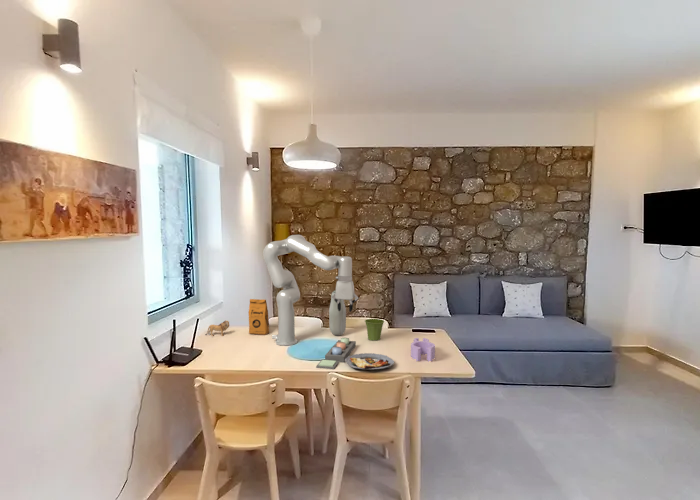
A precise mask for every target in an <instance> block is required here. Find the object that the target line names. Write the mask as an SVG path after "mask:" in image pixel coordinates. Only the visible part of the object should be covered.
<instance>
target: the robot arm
mask: <svg viewBox="0 0 700 500" xmlns="http://www.w3.org/2000/svg"><path fill="white" fill-rule="evenodd" d="M262 251H263V252H262V258H263V262H264V264H265V266H266V269H267V272H268V274H269V277H270V279H271V282H272V285H273V286H274V287H275V288H277V289H281V288H282V290H279V292H277V294H276V298H275V299H276V300H275V301H276V306H277V333H278V334H272V335H271V338H272V339H275V344H276V345H278V346H293V345H295V344H297V343H298V339H297V338H295V335H296V334H295V330H296V329H295V307H294V303H296V302H298V301H299V300H300V297H301V291H300V289H299V286H298V283H297V281H296V278H295V275H294V274H293V273H292V272H291V270H287V269H284V267H283V264H282V262H281V261H280V260H279V257H278V256H283V255H286V254H289V253H292V252H294V253H296V254H299V255H300V256H302V257H305V258H306V259H307V260H308V261H310V262H311V263H312V264H313V265H315V266H316V267H318V268H320V269H322V270H325V271H332V270H335V269H338V271H337V272H338V273H337V276H335V280H336V284H335V290H336V293H335V294H334V295H333V296H332V298H333V299H334V300H335V302H336V303H337V304H338V311H340V310H341V303H340V301H341V300H344V301H345V300H346V301H349V305H348V306H349V307H348V309H349V312H350V313H351V312H352V311H353V309H354V308H353V307H354V306H353V305H354V303H355V302H357V300H359V297H358V295H357V294H356V293H355V287H354V281H353V258H352V257H351V256H345V255H344V256H340V255H329V256H328V255H325V254H323V253H322V252H320V251H319V250H318V249H317V248H316V245H314V244H313V243H312V242H309V241H307V240H306V238H305V237H304V236H303V235H302V234H292V235H289V236H288V237H287V238H285V239H282V240H275V241H271V242H269V243H268V244H266V245H265V246H264V248H263V250H262ZM335 297H336V298H335Z"/></svg>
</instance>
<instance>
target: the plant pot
mask: <svg viewBox="0 0 700 500" xmlns="http://www.w3.org/2000/svg"><path fill="white" fill-rule="evenodd" d="M364 322H365V326H366V331H367V332H366V333H367V339H368V340H369V341H380V340H381V337H382V336H381V335H382V331H383V326H384V323H385V320H383V319H379V318H367V319H365V320H364Z"/></svg>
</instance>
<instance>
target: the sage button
mask: <svg viewBox="0 0 700 500" xmlns="http://www.w3.org/2000/svg"><path fill="white" fill-rule="evenodd" d="M340 340H341V342H345V343H346V345H349V341H350V337H340Z"/></svg>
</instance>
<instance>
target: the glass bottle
mask: <svg viewBox="0 0 700 500" xmlns="http://www.w3.org/2000/svg"><path fill="white" fill-rule="evenodd" d="M335 293H336V289H335V290H333V291H332V292H331V296H330V297H331V298H330V299H331V300H330V304H329V310H328V315H329V316H328V317H329V319H328V320H329V324H328V325H329V331H330V332H331V334H333V335H334V336H342V335H344V333H345V332H346V328H347V308H346V305H345V300H341V301H340V303H341V310H340V311H338V304H337V303H336V302H335V300H334V299H333V298H332V296H333V295H334V294H335ZM335 298H336V297H335Z"/></svg>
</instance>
